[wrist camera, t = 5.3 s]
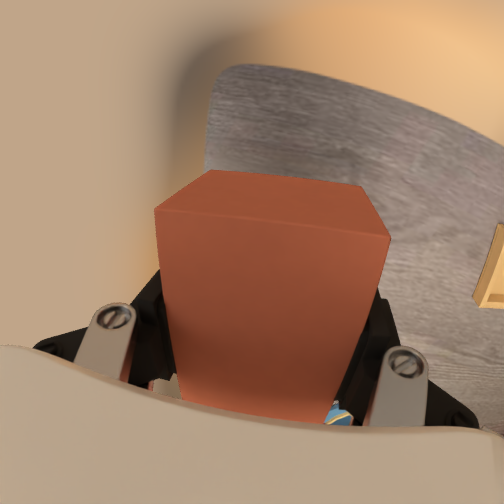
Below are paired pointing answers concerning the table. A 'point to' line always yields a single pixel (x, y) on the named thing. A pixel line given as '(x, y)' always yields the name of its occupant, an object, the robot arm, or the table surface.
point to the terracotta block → (267, 289)
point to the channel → (492, 275)
